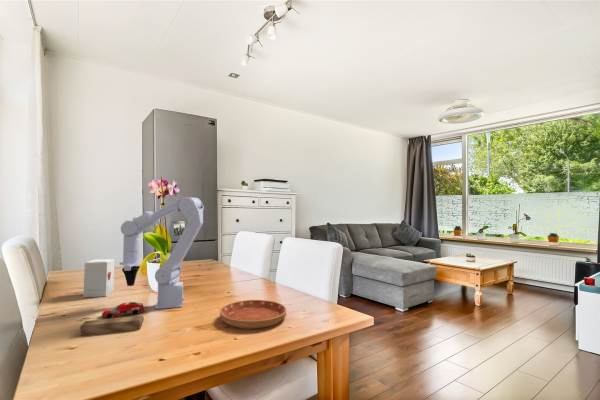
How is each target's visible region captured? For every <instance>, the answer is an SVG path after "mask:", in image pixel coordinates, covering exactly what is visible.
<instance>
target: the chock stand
mask: <svg viewBox="0 0 600 400" xmlns="http://www.w3.org/2000/svg"><path fill="white" fill-rule="evenodd" d="M144 319H145V318H144V315H143V316H142V315H139V316H129V317H128V316H124V317H113V318H104V319H93V320H85V321H84V322H82V324H81V325H80V333H79V335H80V337H81V336H84V337H85V336H93V335H101V334H112V333H113V334H114V333H121V332H130V331H131V332H132V331H139V330H141V329H142V326H143V323H144Z"/></svg>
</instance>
